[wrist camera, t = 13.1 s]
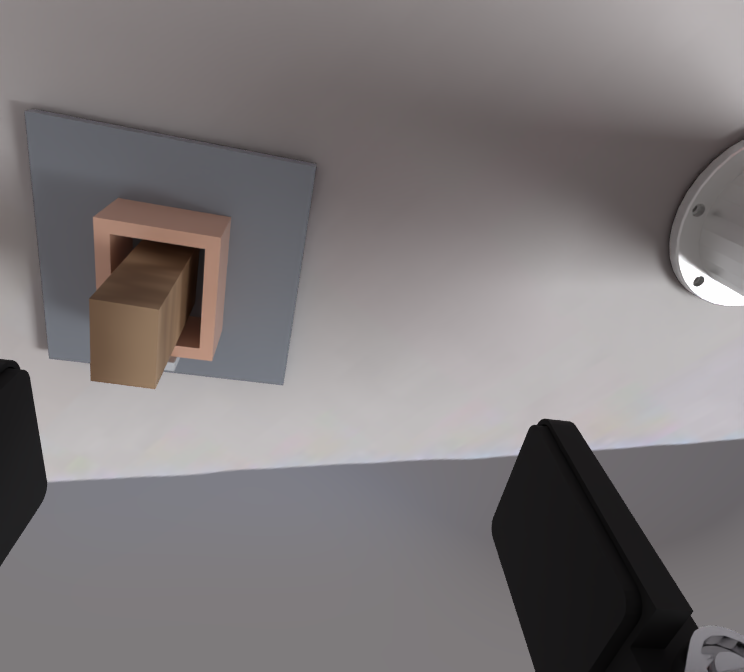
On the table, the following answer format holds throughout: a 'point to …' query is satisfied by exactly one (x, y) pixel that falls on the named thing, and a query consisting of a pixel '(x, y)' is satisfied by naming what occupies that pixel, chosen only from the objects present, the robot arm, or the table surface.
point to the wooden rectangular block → (142, 313)
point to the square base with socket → (171, 236)
